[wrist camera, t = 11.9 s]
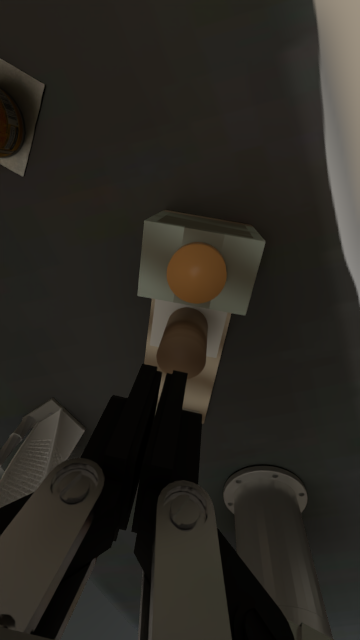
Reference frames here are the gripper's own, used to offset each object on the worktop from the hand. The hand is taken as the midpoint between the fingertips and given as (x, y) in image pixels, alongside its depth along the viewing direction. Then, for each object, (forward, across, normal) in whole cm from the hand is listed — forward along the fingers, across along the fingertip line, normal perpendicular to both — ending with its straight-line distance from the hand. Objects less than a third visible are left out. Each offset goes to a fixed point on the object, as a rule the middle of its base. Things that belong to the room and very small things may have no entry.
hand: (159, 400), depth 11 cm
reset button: (+16, 0, -1) cm, 16 cm away
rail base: (+24, 0, +9) cm, 25 cm away
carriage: (+22, 0, +5) cm, 22 cm away
